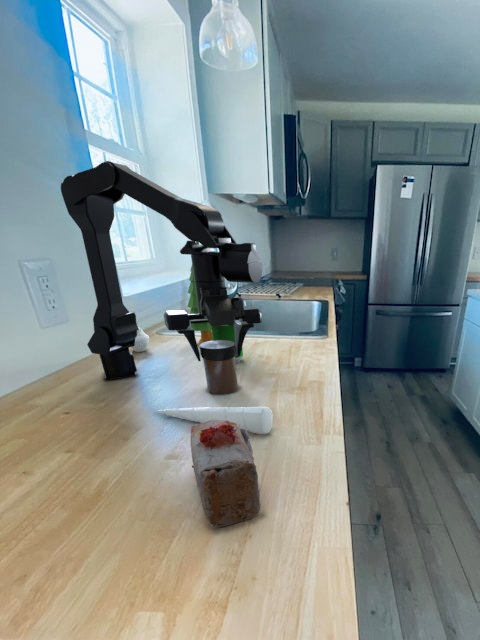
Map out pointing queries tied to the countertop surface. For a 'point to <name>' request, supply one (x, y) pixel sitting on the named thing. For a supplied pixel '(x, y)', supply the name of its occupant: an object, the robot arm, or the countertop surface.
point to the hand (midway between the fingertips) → (219, 358)
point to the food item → (225, 472)
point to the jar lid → (218, 350)
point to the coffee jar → (221, 375)
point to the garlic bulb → (141, 341)
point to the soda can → (226, 336)
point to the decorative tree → (193, 304)
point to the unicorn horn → (228, 416)
